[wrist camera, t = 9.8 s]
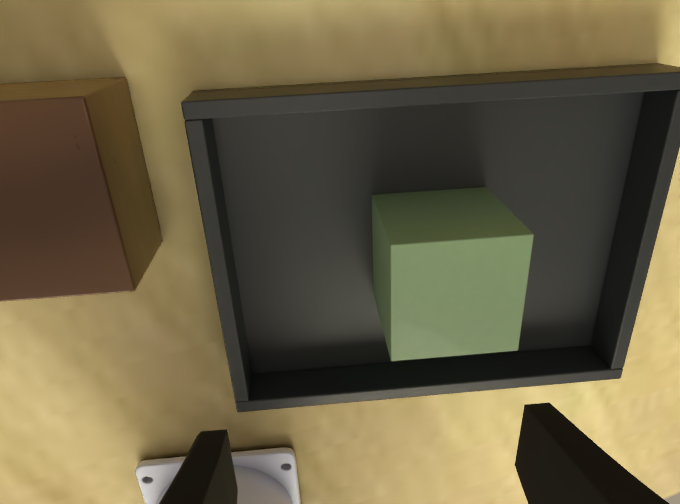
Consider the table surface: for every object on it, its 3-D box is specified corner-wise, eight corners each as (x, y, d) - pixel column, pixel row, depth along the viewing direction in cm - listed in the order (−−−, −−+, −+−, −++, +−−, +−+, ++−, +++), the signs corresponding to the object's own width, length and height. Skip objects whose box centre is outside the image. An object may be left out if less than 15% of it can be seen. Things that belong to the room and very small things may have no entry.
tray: (595, 349, 25) (621, 379, 23) (241, 379, 24) (236, 413, 22) (658, 63, 19) (700, 70, 17) (193, 90, 18) (180, 101, 16)
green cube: (477, 286, 22) (518, 351, 18) (373, 294, 22) (390, 361, 18) (486, 186, 20) (534, 234, 16) (371, 194, 20) (390, 244, 16)
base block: (163, 241, 21) (135, 292, 17) (1, 253, 20) (-62, 307, 17) (126, 76, 18) (83, 96, 14) (-63, 87, 18) (-155, 110, 14)
